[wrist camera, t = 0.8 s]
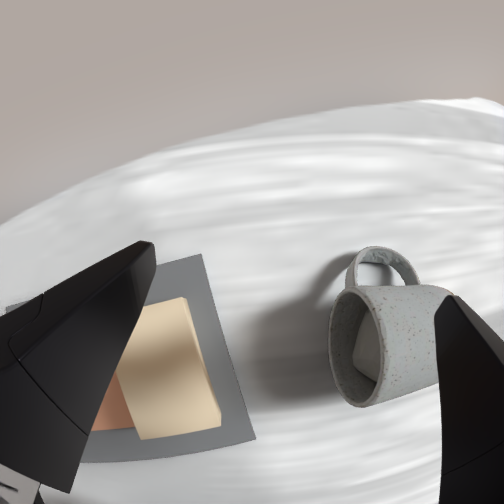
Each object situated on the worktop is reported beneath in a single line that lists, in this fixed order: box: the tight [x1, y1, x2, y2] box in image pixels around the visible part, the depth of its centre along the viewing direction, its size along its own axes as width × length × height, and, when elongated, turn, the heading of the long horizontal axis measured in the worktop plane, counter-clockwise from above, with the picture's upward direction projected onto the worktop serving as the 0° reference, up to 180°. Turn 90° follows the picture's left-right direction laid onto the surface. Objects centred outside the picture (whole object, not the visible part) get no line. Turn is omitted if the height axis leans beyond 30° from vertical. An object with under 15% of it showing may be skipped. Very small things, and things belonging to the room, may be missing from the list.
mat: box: [6, 254, 256, 463], centre depth 18 cm, size 14×18×1 cm
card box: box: [115, 297, 221, 440], centre depth 17 cm, size 8×6×2 cm, turn 16°
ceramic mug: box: [328, 246, 454, 408], centre depth 17 cm, size 11×8×8 cm
